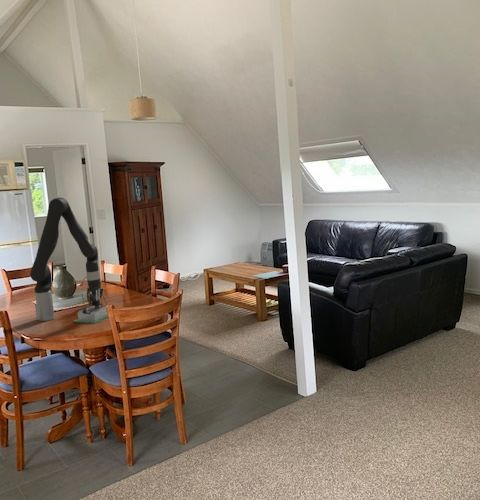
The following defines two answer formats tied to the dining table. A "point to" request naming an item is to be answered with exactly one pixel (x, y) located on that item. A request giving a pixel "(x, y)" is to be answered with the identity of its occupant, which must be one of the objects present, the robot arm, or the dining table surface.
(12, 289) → the dining table surface
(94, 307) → the lever
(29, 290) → the dining table surface
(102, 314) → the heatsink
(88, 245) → the robot arm
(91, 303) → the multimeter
